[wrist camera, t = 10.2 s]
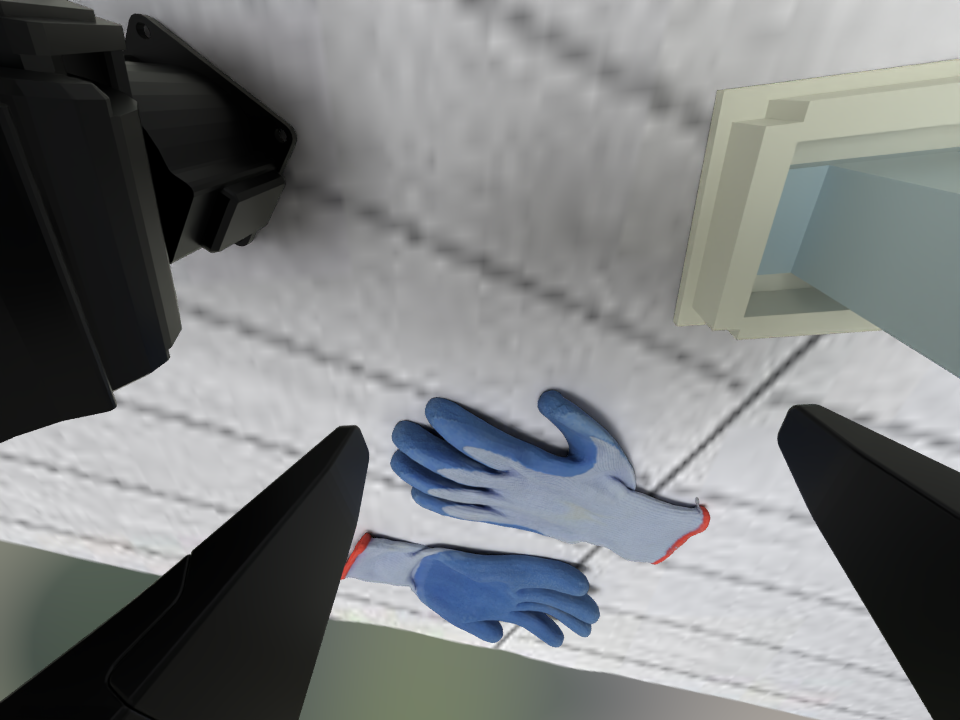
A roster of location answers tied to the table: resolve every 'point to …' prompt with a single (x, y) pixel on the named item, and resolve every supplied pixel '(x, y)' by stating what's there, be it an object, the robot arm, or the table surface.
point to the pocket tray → (762, 174)
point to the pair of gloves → (519, 519)
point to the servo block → (879, 242)
